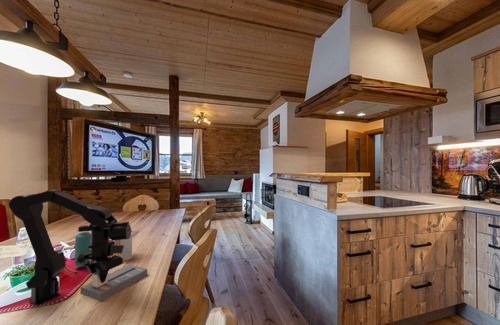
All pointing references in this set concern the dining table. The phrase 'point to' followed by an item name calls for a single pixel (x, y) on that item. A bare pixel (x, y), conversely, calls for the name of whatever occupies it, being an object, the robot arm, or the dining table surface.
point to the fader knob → (97, 280)
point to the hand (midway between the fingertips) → (100, 281)
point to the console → (114, 282)
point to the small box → (125, 248)
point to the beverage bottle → (82, 244)
